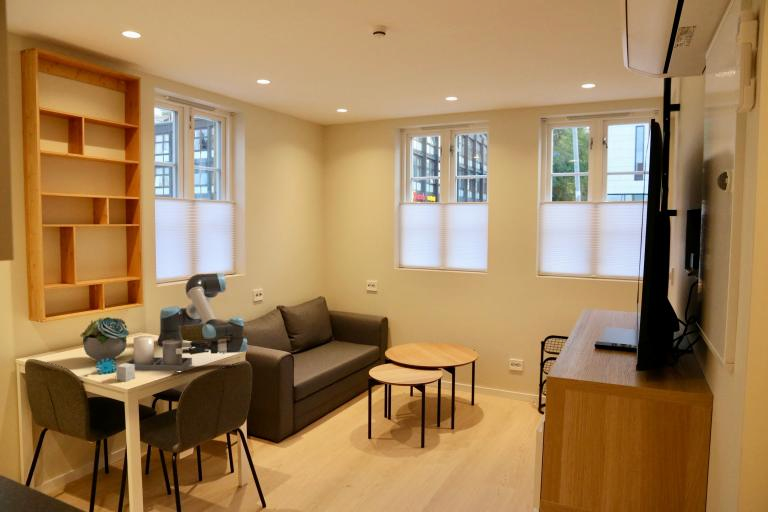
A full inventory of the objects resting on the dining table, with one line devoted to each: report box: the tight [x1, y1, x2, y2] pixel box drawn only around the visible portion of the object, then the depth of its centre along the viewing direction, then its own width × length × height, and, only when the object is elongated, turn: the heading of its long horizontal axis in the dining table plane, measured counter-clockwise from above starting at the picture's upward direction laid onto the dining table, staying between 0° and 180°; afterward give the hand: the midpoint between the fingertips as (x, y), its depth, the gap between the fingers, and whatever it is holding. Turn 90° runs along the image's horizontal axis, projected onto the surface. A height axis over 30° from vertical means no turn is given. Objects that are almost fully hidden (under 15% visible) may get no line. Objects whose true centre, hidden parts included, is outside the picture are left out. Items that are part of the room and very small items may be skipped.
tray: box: [125, 356, 193, 373], centre depth 284 cm, size 16×31×4 cm, turn 93°
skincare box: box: [115, 362, 136, 382], centre depth 263 cm, size 6×6×7 cm
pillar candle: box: [162, 339, 183, 365], centre depth 284 cm, size 10×10×15 cm
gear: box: [95, 358, 118, 376], centre depth 272 cm, size 11×6×10 cm
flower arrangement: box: [79, 316, 130, 364], centre depth 293 cm, size 25×25×24 cm
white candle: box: [133, 335, 155, 365], centre depth 283 cm, size 10×10×15 cm
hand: (176, 348), depth 284 cm, fingers open, 13 cm apart
